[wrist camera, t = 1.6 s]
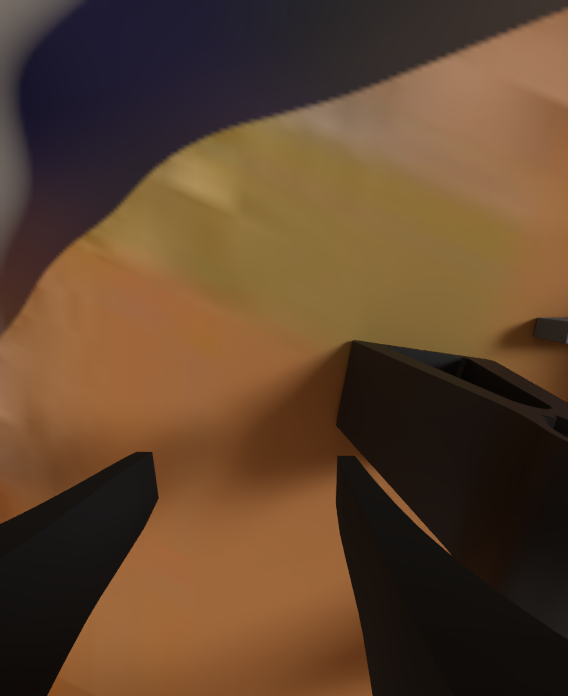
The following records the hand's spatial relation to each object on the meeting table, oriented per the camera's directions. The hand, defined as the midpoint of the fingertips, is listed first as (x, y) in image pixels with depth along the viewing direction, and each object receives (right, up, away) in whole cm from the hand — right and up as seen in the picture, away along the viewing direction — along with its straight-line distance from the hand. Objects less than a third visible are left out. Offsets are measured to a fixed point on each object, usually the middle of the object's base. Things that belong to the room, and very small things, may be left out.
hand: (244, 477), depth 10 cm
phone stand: (+10, +2, +8) cm, 13 cm away
